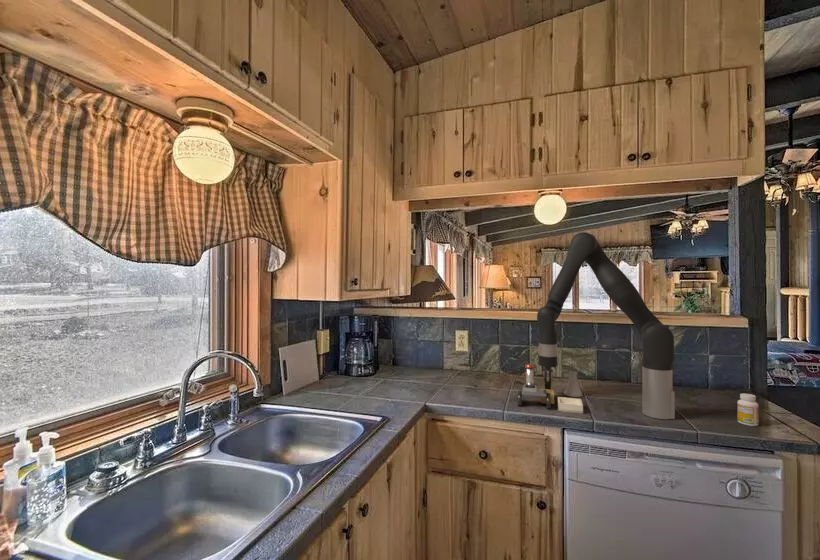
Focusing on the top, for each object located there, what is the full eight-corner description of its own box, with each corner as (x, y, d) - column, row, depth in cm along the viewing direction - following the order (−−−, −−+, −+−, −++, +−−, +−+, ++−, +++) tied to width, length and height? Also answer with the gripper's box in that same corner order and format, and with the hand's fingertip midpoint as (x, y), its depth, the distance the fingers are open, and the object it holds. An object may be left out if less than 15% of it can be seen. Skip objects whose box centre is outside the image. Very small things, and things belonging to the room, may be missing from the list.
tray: (580, 406, 147) (580, 398, 147) (583, 413, 139) (583, 405, 139) (557, 404, 150) (557, 396, 150) (558, 411, 142) (558, 403, 142)
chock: (553, 400, 154) (553, 389, 154) (554, 404, 150) (554, 393, 150) (540, 399, 156) (540, 388, 156) (540, 402, 152) (540, 391, 151)
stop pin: (534, 389, 150) (534, 364, 150) (534, 392, 147) (534, 366, 147) (525, 388, 151) (525, 363, 151) (525, 391, 148) (524, 365, 148)
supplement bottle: (748, 420, 132) (748, 392, 132) (763, 426, 127) (763, 397, 127) (733, 420, 132) (733, 392, 132) (747, 426, 127) (747, 397, 127)
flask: (571, 398, 157) (571, 374, 157) (560, 393, 164) (560, 370, 164) (586, 396, 159) (586, 373, 159) (574, 392, 166) (574, 369, 166)
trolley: (550, 403, 150) (550, 385, 150) (550, 410, 143) (550, 391, 143) (518, 400, 154) (518, 382, 154) (517, 407, 147) (517, 388, 147)
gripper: (558, 358, 149) (557, 401, 150) (557, 351, 162) (556, 391, 162) (538, 356, 152) (537, 399, 152) (538, 350, 164) (538, 390, 165)
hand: (547, 395), depth 157 cm, fingers closed
